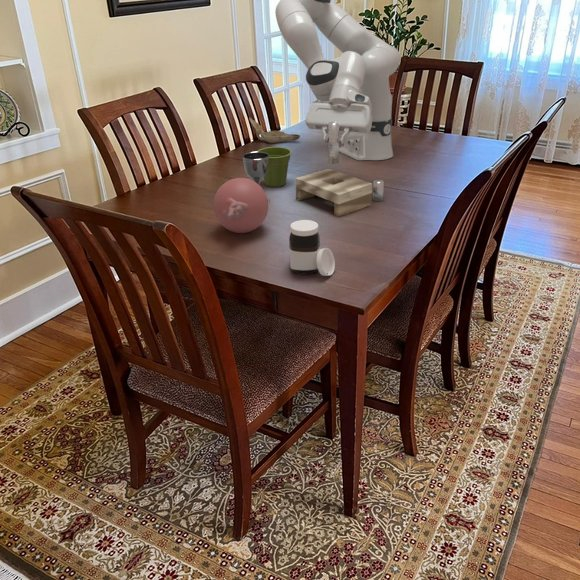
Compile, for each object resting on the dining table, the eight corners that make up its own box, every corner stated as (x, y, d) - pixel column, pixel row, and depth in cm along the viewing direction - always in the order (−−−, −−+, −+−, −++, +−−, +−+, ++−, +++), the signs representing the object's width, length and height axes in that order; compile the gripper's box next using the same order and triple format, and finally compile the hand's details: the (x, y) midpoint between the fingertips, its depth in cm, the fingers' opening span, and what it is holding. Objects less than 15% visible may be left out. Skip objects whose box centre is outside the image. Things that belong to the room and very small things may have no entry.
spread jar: (290, 258, 154) (289, 217, 149) (333, 258, 154) (334, 216, 148) (288, 281, 144) (287, 237, 138) (335, 280, 144) (336, 237, 138)
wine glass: (274, 198, 192) (273, 153, 185) (263, 207, 186) (261, 160, 179) (253, 195, 195) (250, 150, 188) (241, 203, 189) (238, 157, 182)
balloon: (202, 246, 162) (196, 193, 154) (226, 218, 179) (221, 169, 171) (256, 251, 159) (253, 197, 151) (275, 222, 176) (273, 171, 168)
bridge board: (296, 199, 191) (295, 178, 188) (328, 188, 199) (328, 168, 195) (338, 216, 178) (339, 194, 174) (371, 204, 185) (372, 183, 182)
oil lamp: (253, 138, 255) (251, 115, 250) (302, 139, 251) (301, 116, 246) (248, 144, 248) (246, 120, 243) (298, 145, 244) (298, 121, 239)
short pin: (370, 199, 189) (371, 181, 186) (377, 196, 191) (378, 178, 188) (378, 201, 187) (379, 183, 184) (385, 199, 189) (386, 181, 186)
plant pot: (251, 184, 204) (249, 152, 199) (275, 175, 212) (273, 144, 206) (275, 192, 197) (274, 159, 191) (299, 183, 204) (299, 150, 199)
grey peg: (327, 161, 183) (327, 122, 177) (336, 160, 183) (337, 121, 177) (330, 164, 180) (330, 124, 174) (340, 163, 181) (340, 123, 175)
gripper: (308, 94, 182) (298, 134, 179) (374, 97, 175) (363, 139, 172) (313, 105, 187) (303, 144, 184) (377, 109, 181) (367, 150, 178)
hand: (333, 142), depth 178 cm, fingers closed on grey peg, 3 cm apart
